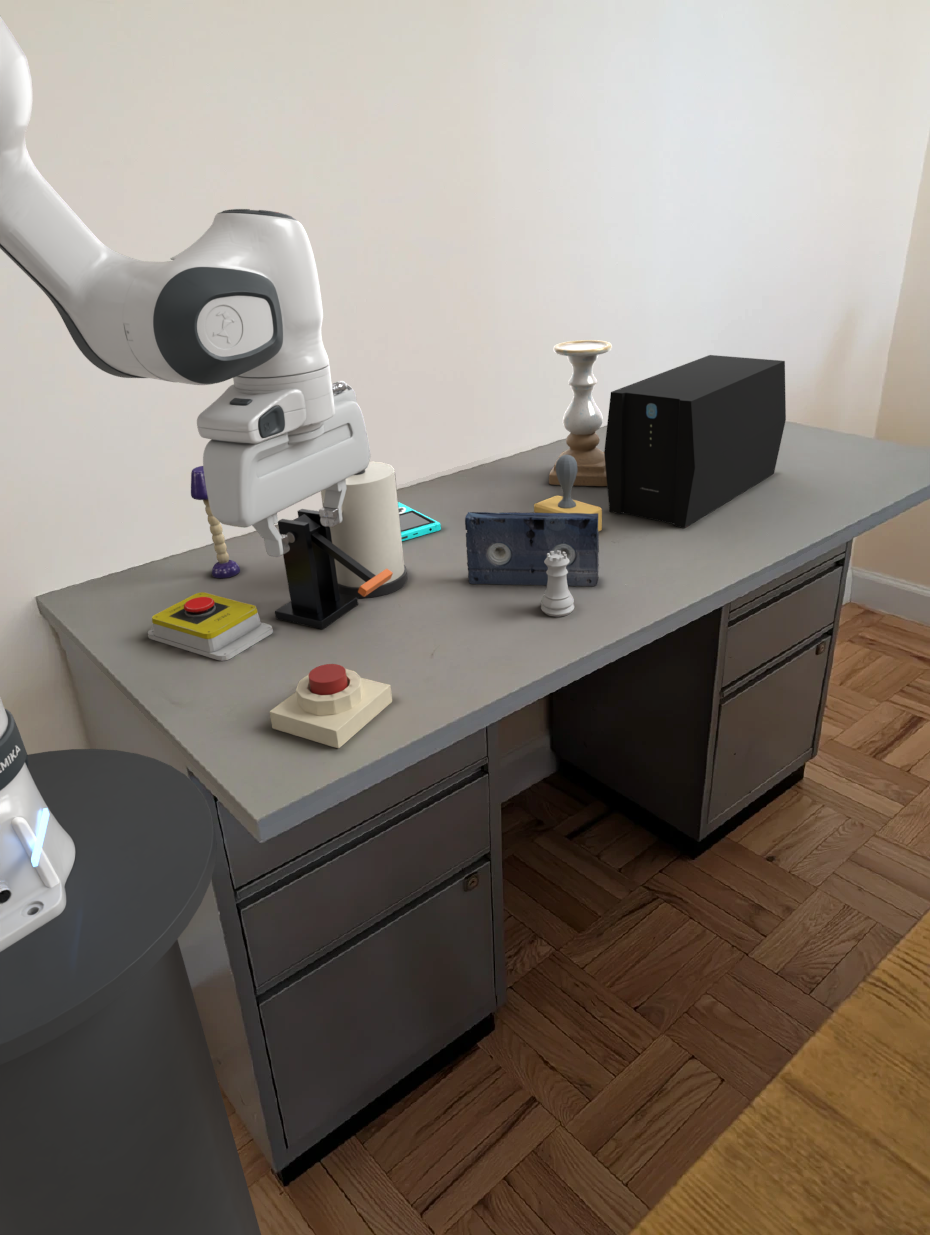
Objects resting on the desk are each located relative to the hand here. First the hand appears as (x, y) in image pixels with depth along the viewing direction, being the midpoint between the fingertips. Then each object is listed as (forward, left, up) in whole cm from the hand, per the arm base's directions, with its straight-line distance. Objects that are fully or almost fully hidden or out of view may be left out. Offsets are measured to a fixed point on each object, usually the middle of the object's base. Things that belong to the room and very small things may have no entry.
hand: (306, 538), depth 89 cm
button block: (0, 0, -21) cm, 21 cm away
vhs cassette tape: (+40, -5, -21) cm, 45 cm away
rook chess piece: (+33, -12, -21) cm, 41 cm away
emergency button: (+9, +27, -21) cm, 36 cm away
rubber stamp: (+61, -1, -21) cm, 65 cm away
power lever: (+20, +14, -13) cm, 27 cm away
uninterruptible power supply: (+85, -15, -21) cm, 89 cm away
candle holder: (+86, +7, -21) cm, 89 cm away
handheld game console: (+52, +27, -21) cm, 62 cm away
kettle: (+31, +17, -21) cm, 41 cm away
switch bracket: (+20, +18, -21) cm, 34 cm away
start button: (0, 0, -17) cm, 17 cm away
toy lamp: (+25, +40, -21) cm, 52 cm away
